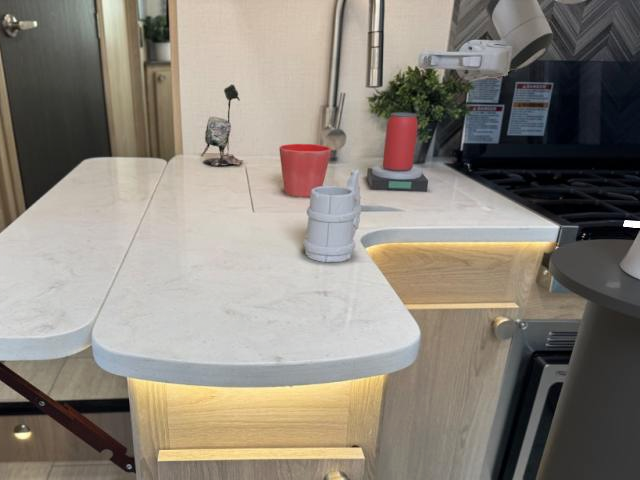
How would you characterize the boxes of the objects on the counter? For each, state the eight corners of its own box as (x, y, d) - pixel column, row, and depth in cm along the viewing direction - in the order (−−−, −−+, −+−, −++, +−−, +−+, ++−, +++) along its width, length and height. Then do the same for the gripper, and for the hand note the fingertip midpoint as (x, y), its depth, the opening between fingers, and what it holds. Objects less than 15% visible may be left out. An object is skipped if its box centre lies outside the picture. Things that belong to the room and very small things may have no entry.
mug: (293, 255, 85) (296, 176, 80) (335, 237, 93) (340, 164, 88) (335, 267, 80) (342, 184, 75) (376, 247, 88) (384, 171, 83)
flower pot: (309, 185, 128) (311, 141, 123) (337, 195, 119) (341, 149, 115) (269, 190, 123) (270, 144, 119) (295, 201, 114) (297, 153, 110)
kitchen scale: (417, 179, 133) (419, 164, 132) (427, 191, 122) (429, 175, 120) (366, 178, 135) (368, 163, 133) (371, 190, 123) (372, 174, 122)
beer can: (376, 168, 127) (382, 113, 122) (393, 165, 131) (399, 111, 126) (401, 173, 123) (408, 116, 118) (417, 169, 127) (425, 114, 122)
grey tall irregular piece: (208, 160, 155) (207, 83, 146) (247, 163, 151) (248, 84, 143) (197, 165, 148) (194, 85, 139) (237, 168, 144) (237, 86, 136)
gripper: (439, 45, 139) (405, 45, 131) (520, 45, 124) (487, 45, 116) (435, 72, 141) (401, 74, 133) (514, 76, 127) (481, 78, 119)
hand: (442, 61), depth 125 cm, fingers open, 8 cm apart
